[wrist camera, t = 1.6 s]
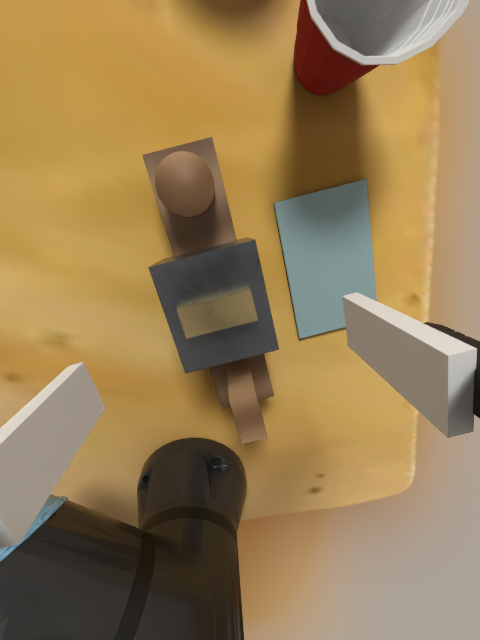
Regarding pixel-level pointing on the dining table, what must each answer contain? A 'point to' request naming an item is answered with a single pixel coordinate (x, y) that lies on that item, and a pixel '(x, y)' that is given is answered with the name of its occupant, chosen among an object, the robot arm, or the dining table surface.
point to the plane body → (198, 233)
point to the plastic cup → (364, 36)
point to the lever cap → (216, 304)
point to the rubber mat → (326, 253)
